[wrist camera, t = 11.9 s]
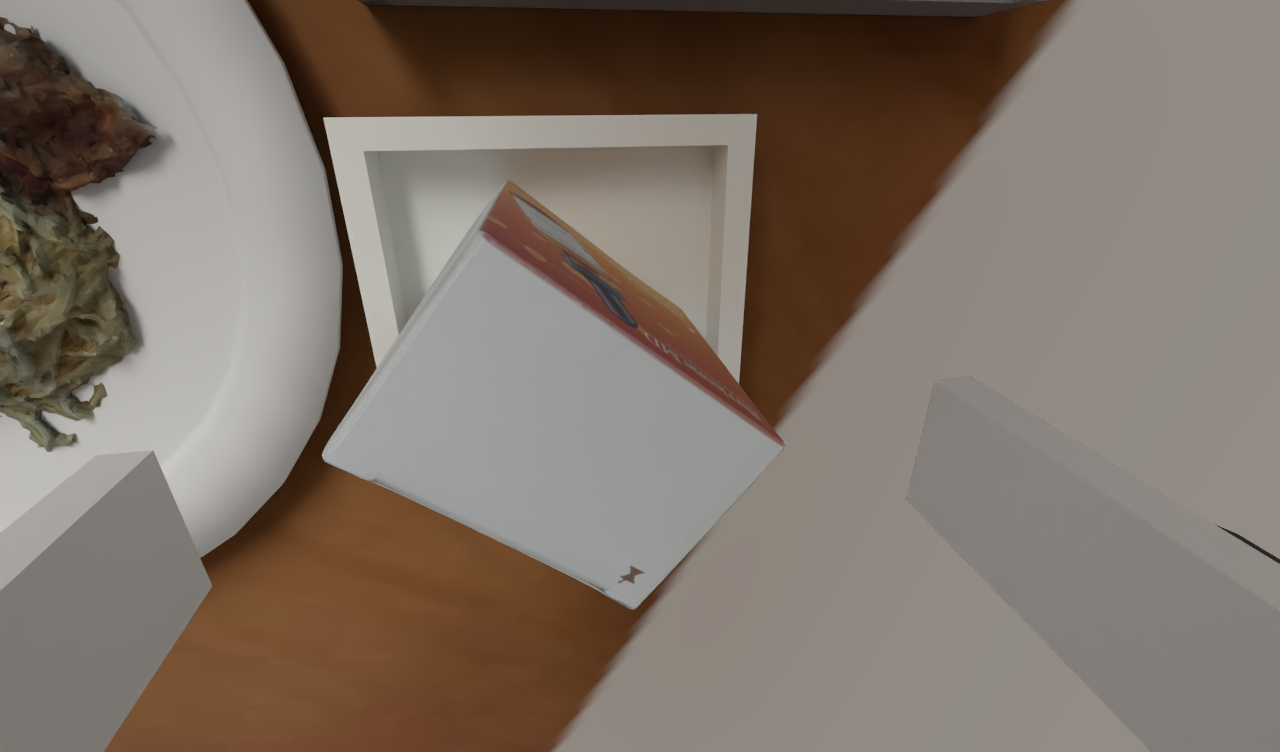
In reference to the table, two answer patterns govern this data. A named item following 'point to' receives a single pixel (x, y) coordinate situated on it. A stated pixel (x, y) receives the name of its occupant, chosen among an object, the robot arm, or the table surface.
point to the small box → (557, 407)
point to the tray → (553, 202)
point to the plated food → (159, 254)
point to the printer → (752, 5)
